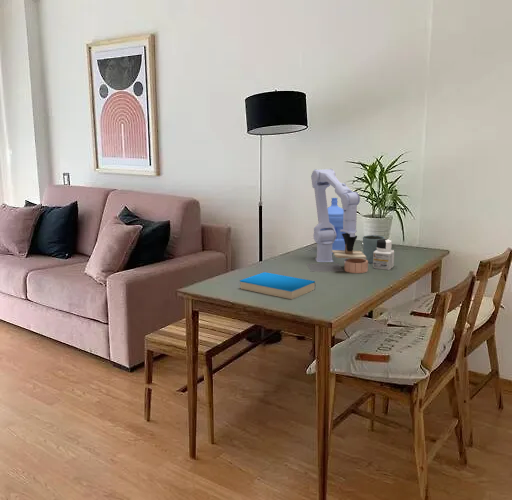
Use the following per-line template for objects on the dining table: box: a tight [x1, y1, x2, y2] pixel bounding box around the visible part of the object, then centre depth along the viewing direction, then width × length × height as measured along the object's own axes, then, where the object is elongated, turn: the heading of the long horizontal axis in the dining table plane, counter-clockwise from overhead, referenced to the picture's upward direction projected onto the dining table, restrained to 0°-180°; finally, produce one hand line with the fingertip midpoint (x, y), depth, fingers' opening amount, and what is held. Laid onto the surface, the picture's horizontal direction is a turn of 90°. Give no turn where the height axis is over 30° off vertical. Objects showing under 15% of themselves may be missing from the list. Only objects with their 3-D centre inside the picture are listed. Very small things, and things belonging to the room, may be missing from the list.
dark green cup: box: [362, 234, 385, 264], centre depth 254 cm, size 10×10×12 cm
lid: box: [332, 244, 366, 259], centre depth 236 cm, size 13×13×5 cm
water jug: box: [320, 197, 345, 255], centre depth 277 cm, size 16×16×28 cm
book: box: [239, 271, 316, 300], centre depth 210 cm, size 17×4×25 cm
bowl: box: [343, 258, 369, 274], centre depth 236 cm, size 10×10×5 cm
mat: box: [306, 262, 345, 273], centre depth 242 cm, size 15×15×1 cm
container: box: [372, 238, 395, 271], centre depth 243 cm, size 8×8×13 cm
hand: (349, 250), depth 236 cm, fingers closed on lid, 3 cm apart
